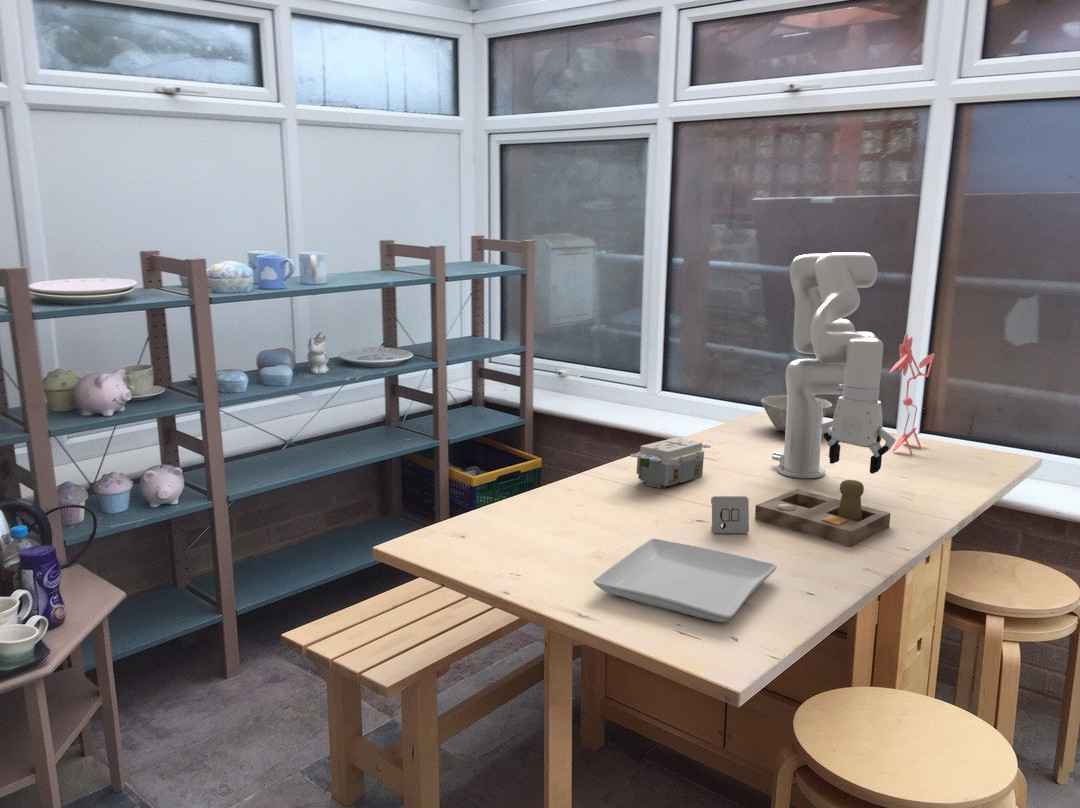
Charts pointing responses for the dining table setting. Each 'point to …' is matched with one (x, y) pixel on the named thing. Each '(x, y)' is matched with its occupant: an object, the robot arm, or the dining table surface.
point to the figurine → (903, 364)
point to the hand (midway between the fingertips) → (853, 467)
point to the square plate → (686, 579)
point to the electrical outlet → (670, 462)
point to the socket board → (820, 517)
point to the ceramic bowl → (785, 409)
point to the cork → (851, 500)
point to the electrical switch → (730, 514)
